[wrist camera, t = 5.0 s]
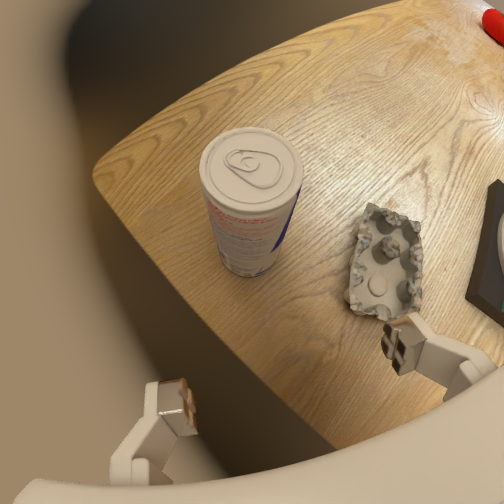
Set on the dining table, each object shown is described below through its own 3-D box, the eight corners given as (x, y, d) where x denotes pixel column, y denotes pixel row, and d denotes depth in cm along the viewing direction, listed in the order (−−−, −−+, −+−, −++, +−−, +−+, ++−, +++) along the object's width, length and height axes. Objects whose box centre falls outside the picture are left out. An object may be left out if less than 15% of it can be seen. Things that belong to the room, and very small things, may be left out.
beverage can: (284, 270, 29) (319, 201, 15) (226, 283, 29) (207, 223, 15) (270, 217, 31) (288, 117, 17) (214, 228, 30) (191, 133, 16)
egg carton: (399, 328, 28) (419, 325, 24) (332, 310, 28) (346, 304, 25) (415, 233, 31) (433, 220, 27) (355, 211, 31) (368, 194, 27)
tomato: (486, 25, 53) (497, 5, 43) (513, 51, 50) (526, 32, 40) (470, 21, 52) (482, -1, 42) (499, 49, 48) (514, 27, 39)
